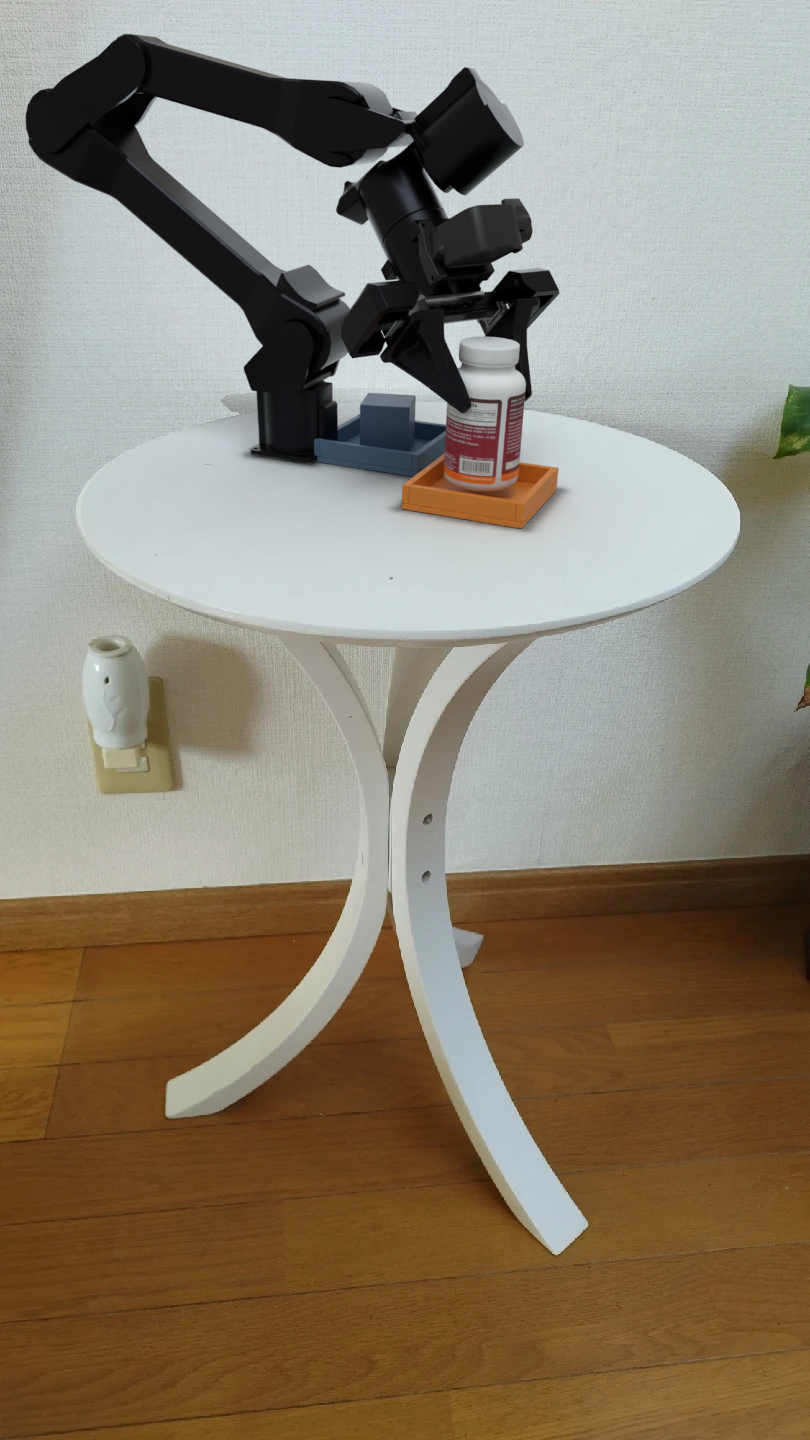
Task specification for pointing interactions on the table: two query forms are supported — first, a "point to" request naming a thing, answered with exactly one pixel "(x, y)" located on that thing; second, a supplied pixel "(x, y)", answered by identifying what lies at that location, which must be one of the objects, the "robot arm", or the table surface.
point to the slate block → (388, 421)
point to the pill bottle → (486, 417)
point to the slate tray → (382, 449)
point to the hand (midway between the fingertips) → (497, 404)
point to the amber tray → (481, 495)
